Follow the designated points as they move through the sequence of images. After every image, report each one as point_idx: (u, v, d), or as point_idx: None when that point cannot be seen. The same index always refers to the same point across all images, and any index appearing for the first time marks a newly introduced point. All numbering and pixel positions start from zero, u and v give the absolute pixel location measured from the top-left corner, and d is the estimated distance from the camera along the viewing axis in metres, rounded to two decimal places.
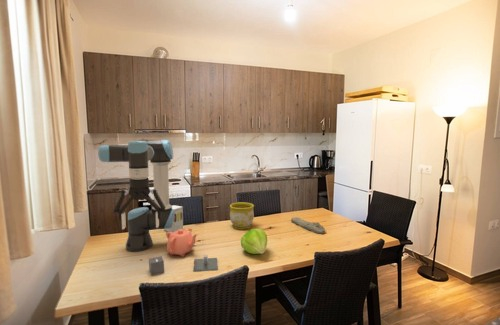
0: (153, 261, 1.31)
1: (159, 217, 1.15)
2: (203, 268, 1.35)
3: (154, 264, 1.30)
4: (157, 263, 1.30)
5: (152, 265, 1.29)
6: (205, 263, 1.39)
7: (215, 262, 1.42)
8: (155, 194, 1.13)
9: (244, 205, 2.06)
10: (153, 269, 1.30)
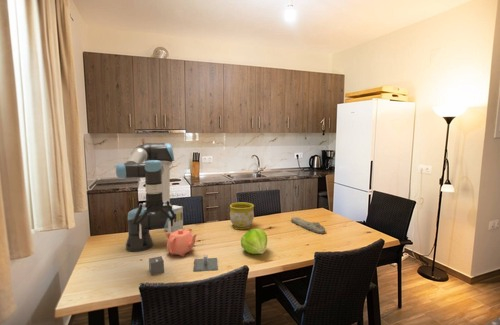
0: (153, 261, 1.31)
1: (171, 224, 1.34)
2: (203, 268, 1.35)
3: (154, 264, 1.30)
4: (157, 263, 1.30)
5: (152, 265, 1.29)
6: (205, 263, 1.39)
7: (215, 262, 1.42)
8: (168, 205, 1.32)
9: (244, 205, 2.06)
10: (153, 269, 1.30)
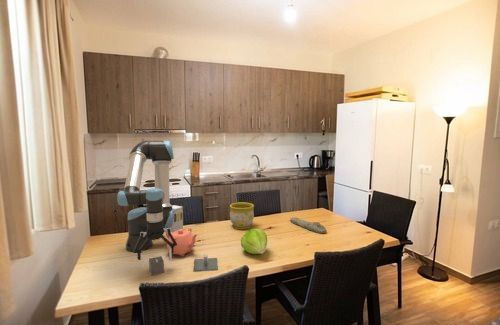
0: (153, 261, 1.31)
1: (172, 251, 1.35)
2: (203, 268, 1.35)
3: (154, 264, 1.30)
4: (157, 263, 1.30)
5: (152, 265, 1.29)
6: (205, 263, 1.39)
7: (215, 262, 1.42)
8: (169, 233, 1.34)
9: (244, 205, 2.06)
10: (153, 269, 1.30)
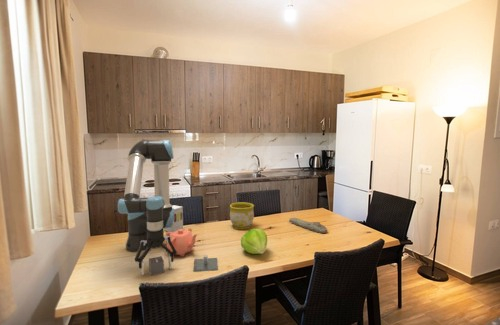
0: (153, 261, 1.31)
1: (172, 260, 1.36)
2: (203, 268, 1.35)
3: (154, 264, 1.30)
4: (157, 263, 1.30)
5: (152, 265, 1.29)
6: (205, 263, 1.39)
7: (215, 262, 1.42)
8: (169, 241, 1.34)
9: (244, 205, 2.06)
10: (153, 269, 1.30)
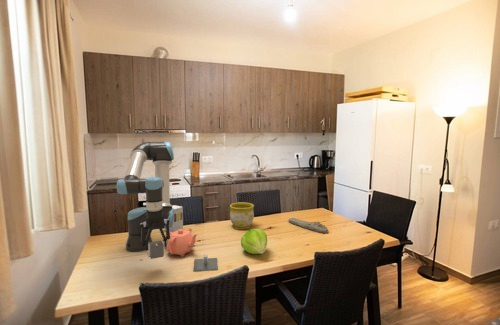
0: (153, 245, 1.30)
1: (165, 245, 1.34)
2: (203, 268, 1.35)
3: (154, 248, 1.29)
4: (157, 247, 1.30)
5: (152, 249, 1.29)
6: (205, 263, 1.39)
7: (215, 262, 1.42)
8: (168, 224, 1.33)
9: (244, 205, 2.06)
10: (153, 253, 1.29)
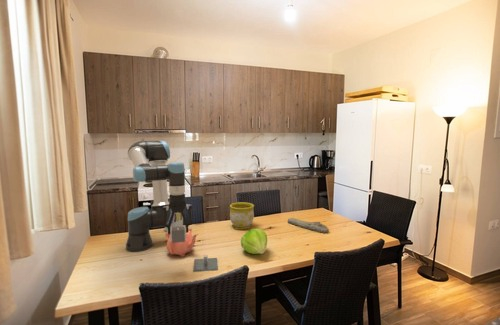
0: (174, 229, 1.32)
1: (187, 230, 1.34)
2: (203, 268, 1.35)
3: (175, 232, 1.30)
4: (178, 231, 1.31)
5: (173, 233, 1.30)
6: (205, 263, 1.39)
7: (215, 262, 1.42)
8: (189, 209, 1.33)
9: (244, 205, 2.06)
10: (174, 237, 1.30)
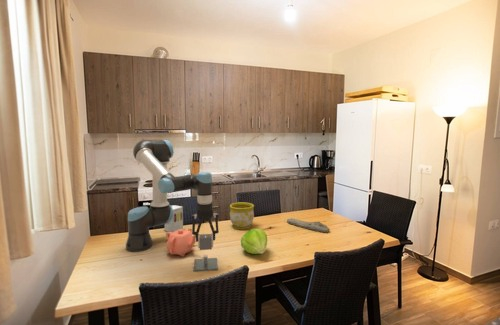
0: (202, 237, 1.37)
1: (214, 238, 1.39)
2: (203, 268, 1.35)
3: (202, 239, 1.35)
4: (205, 239, 1.35)
5: (200, 240, 1.35)
6: (205, 263, 1.39)
7: (215, 262, 1.42)
8: (216, 218, 1.37)
9: (244, 205, 2.06)
10: (201, 244, 1.35)
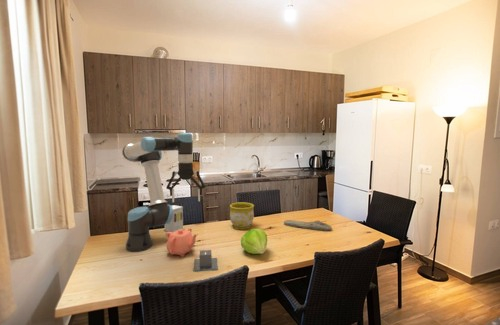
0: (202, 254, 1.37)
1: (200, 193, 1.45)
2: (203, 268, 1.35)
3: (202, 256, 1.36)
4: (205, 256, 1.36)
5: (200, 257, 1.36)
6: None
7: (215, 262, 1.42)
8: (198, 175, 1.44)
9: (244, 205, 2.06)
10: (201, 261, 1.36)
